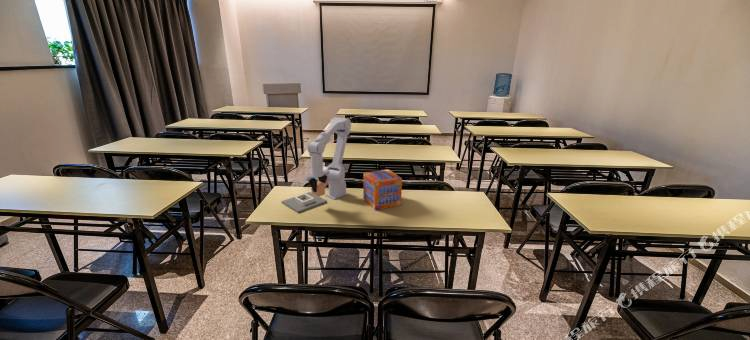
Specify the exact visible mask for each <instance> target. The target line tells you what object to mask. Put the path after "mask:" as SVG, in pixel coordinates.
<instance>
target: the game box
mask: <svg viewBox="0 0 750 340" xmlns="http://www.w3.org/2000/svg"><path fill="white" fill-rule="evenodd" d="M362 176H363V177H362V179H363V180H362V181H363V185H362V186H363V187H362V188H363V194H362V195H363V200H364V201H365V202H367V204H368V205H369V206H370V207H371V208H372V209H374V210H375V211H378V210H383V209H388V208H392V207H396V206H401V205H402V193H403V192H402V190H403V188H402V187H403V178H402V177H401V176H399V175H397V174H396V173H395V172H394V171H392V170H391V169H381V170H375V171H369V172H368V171H367V172H363V175H362Z"/></svg>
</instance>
